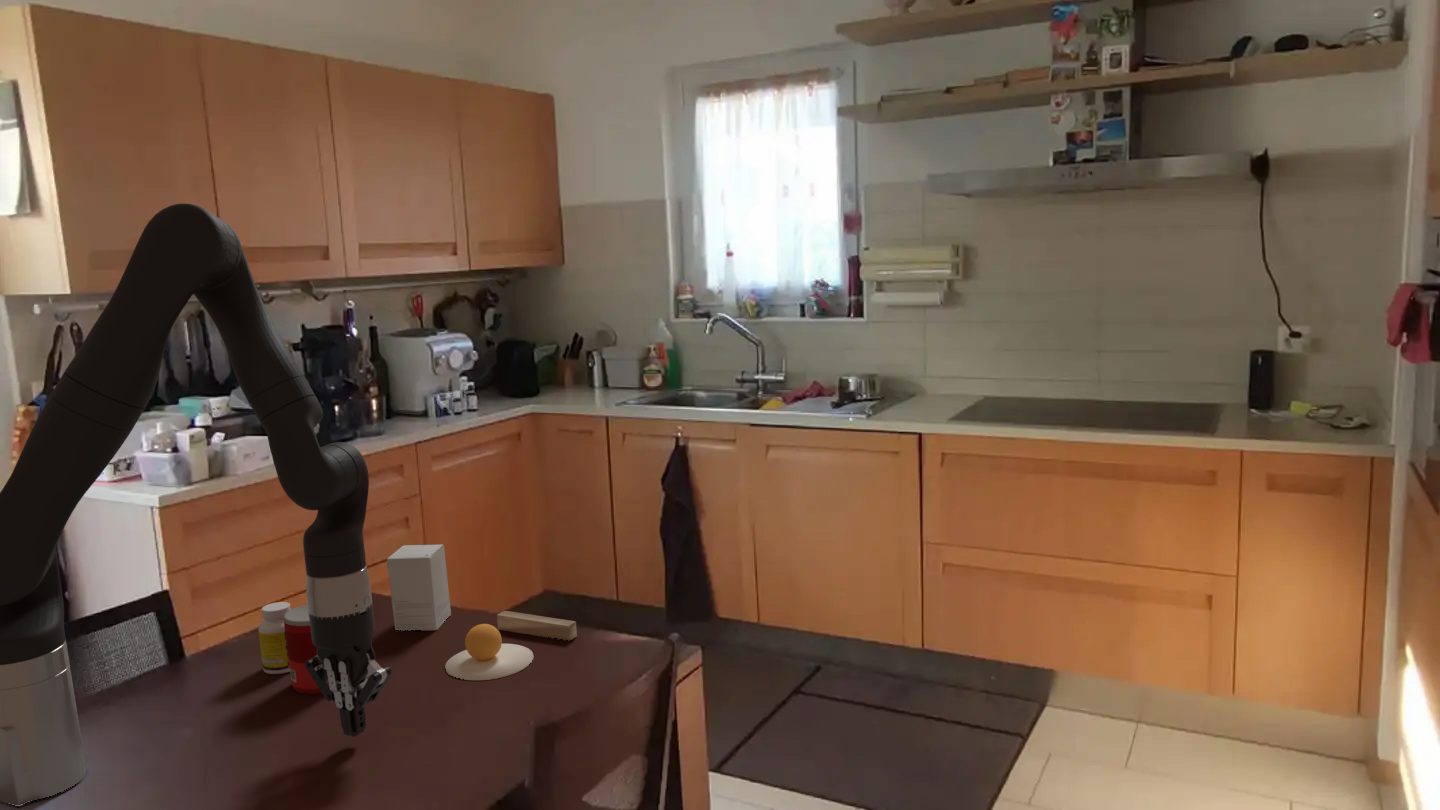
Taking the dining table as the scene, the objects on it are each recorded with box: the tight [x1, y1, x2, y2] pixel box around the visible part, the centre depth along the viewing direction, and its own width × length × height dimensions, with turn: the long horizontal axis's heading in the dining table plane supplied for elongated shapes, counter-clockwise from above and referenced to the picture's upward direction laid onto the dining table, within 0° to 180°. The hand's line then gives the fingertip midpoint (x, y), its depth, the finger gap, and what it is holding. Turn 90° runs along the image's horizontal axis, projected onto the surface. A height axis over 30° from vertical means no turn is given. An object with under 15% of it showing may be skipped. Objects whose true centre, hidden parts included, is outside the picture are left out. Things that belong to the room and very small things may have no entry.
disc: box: [444, 643, 534, 681], centre depth 157 cm, size 13×13×1 cm
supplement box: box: [386, 543, 452, 632], centre depth 173 cm, size 7×7×13 cm
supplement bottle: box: [258, 601, 292, 675], centre depth 157 cm, size 5×5×10 cm
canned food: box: [284, 603, 329, 695], centre depth 151 cm, size 8×8×11 cm
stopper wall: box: [496, 610, 578, 642], centre depth 167 cm, size 2×14×2 cm, turn 64°
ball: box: [464, 623, 503, 660], centre depth 157 cm, size 5×5×5 cm
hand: (354, 733), depth 133 cm, fingers closed
